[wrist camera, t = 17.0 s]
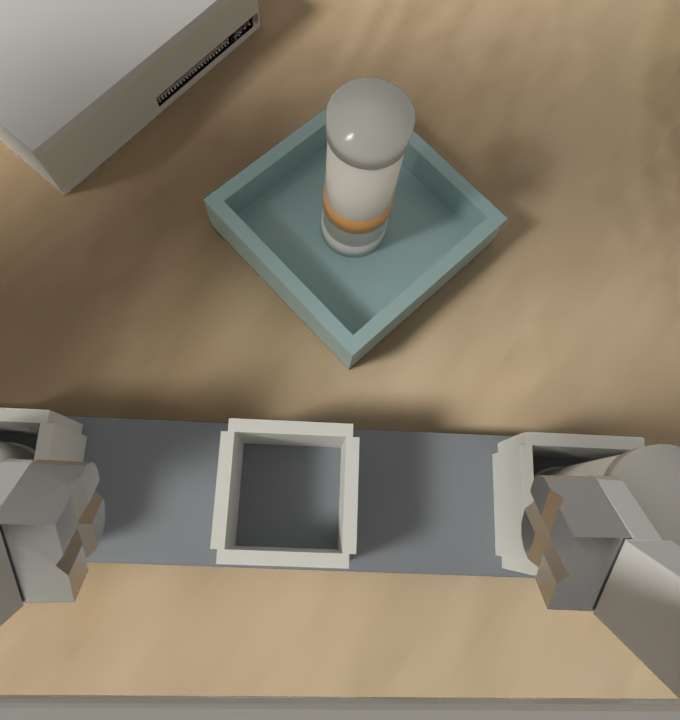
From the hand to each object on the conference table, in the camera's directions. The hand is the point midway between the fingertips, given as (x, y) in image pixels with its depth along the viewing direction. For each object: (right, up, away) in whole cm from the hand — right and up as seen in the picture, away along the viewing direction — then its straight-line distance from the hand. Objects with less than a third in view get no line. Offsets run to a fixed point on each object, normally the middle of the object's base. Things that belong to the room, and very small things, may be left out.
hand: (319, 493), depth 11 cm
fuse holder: (-2, -5, +20) cm, 20 cm away
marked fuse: (+1, +10, +24) cm, 26 cm away
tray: (+1, +10, +24) cm, 26 cm away
